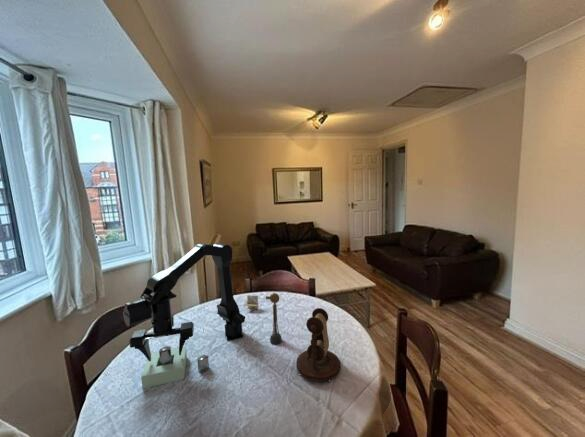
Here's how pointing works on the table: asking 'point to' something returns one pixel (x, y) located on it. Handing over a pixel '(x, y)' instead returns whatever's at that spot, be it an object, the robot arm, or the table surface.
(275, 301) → the dark grey slender stand
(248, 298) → the architectural model
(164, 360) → the long pin
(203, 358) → the short pin
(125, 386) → the table surface
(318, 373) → the dark brown tall piece
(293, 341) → the table surface
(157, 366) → the hole block
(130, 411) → the table surface
